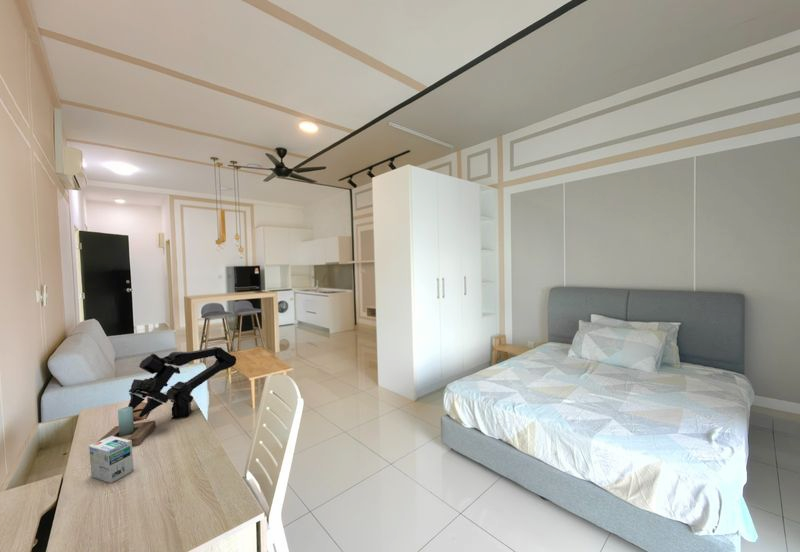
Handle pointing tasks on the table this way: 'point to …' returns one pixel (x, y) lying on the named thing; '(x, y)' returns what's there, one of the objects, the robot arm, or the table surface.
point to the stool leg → (125, 421)
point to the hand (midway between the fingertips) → (133, 415)
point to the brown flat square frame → (139, 432)
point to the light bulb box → (111, 458)
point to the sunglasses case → (137, 412)
